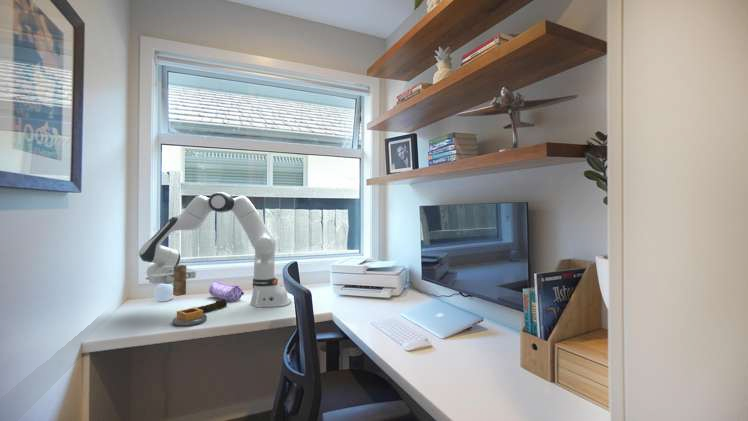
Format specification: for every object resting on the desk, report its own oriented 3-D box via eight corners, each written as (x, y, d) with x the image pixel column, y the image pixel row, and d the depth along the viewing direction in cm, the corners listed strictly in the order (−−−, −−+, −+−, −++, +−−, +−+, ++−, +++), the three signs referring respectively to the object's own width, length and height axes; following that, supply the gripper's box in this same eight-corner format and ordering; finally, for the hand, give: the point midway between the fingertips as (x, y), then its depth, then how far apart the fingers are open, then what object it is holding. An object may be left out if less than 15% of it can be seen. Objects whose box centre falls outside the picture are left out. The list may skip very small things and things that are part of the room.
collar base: (197, 315, 161) (197, 305, 161) (212, 320, 154) (212, 310, 154) (166, 322, 150) (166, 311, 150) (181, 328, 142) (181, 317, 142)
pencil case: (244, 300, 191) (244, 284, 191) (230, 303, 183) (230, 287, 183) (220, 294, 202) (221, 279, 202) (206, 298, 194) (206, 282, 194)
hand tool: (195, 316, 160) (195, 307, 160) (190, 315, 162) (191, 305, 162) (229, 307, 176) (229, 299, 176) (225, 306, 178) (225, 298, 178)
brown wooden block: (181, 293, 161) (182, 264, 161) (185, 294, 158) (186, 265, 159) (173, 294, 157) (173, 265, 157) (177, 296, 155) (177, 266, 155)
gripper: (144, 271, 157) (157, 274, 149) (188, 266, 174) (201, 269, 166) (143, 284, 157) (156, 288, 149) (187, 278, 174) (201, 281, 166)
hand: (180, 278), depth 157 cm, fingers closed on brown wooden block, 4 cm apart
